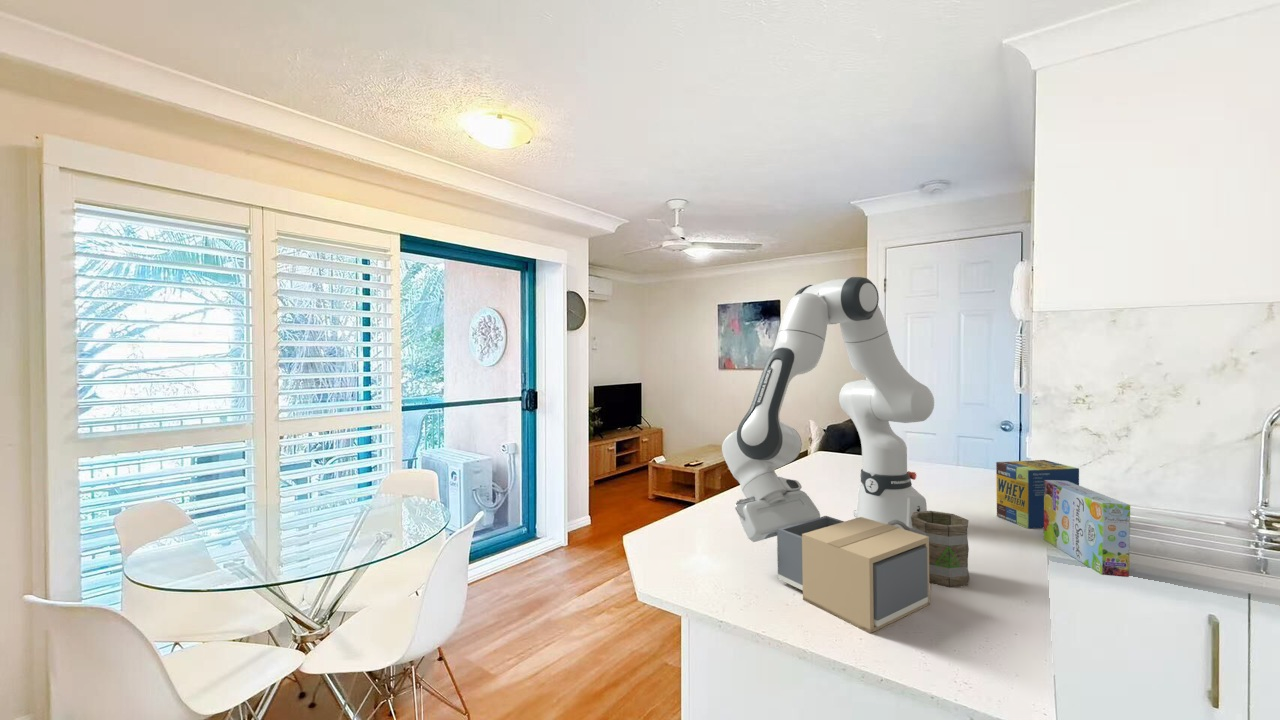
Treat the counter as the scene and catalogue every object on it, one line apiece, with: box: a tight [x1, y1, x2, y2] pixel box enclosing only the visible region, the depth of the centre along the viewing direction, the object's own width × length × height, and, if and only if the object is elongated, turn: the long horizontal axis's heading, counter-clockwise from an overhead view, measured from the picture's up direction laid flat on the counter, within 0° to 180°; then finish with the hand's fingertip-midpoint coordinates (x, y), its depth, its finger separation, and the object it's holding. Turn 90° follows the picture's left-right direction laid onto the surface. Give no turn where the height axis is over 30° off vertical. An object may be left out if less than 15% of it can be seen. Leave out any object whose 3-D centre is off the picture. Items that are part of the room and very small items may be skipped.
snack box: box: [1043, 480, 1131, 578], centre depth 114 cm, size 21×6×15 cm, turn 168°
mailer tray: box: [776, 515, 928, 627], centre depth 98 cm, size 15×22×10 cm
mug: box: [888, 510, 970, 589], centre depth 106 cm, size 16×11×12 cm
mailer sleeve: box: [802, 517, 931, 634], centre depth 95 cm, size 18×14×13 cm
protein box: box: [995, 459, 1080, 529], centre depth 138 cm, size 10×15×16 cm
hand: (800, 550), depth 108 cm, fingers closed, pressing on mailer tray
